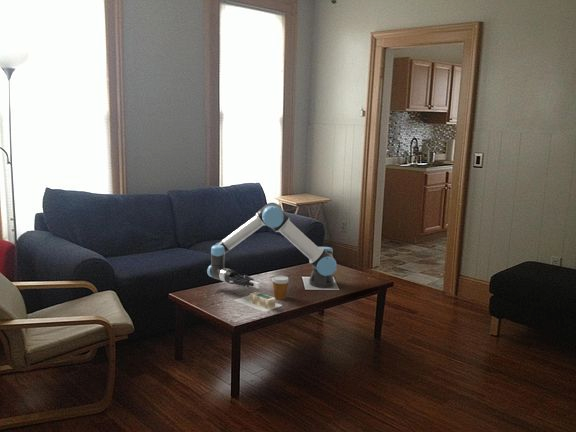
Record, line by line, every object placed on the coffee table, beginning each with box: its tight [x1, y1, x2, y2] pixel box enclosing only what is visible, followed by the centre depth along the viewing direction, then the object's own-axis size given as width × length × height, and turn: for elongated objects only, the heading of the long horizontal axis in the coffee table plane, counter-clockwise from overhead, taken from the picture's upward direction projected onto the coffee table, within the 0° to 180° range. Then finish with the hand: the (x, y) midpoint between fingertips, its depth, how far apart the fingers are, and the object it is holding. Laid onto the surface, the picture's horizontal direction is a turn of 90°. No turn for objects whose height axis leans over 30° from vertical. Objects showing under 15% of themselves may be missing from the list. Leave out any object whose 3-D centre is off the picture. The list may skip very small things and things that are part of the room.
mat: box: [233, 294, 283, 313], centre depth 287 cm, size 24×14×1 cm, turn 49°
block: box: [249, 291, 276, 310], centre depth 284 cm, size 5×5×14 cm
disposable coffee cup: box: [271, 275, 290, 301], centre depth 295 cm, size 10×10×12 cm
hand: (258, 285), depth 284 cm, fingers closed
